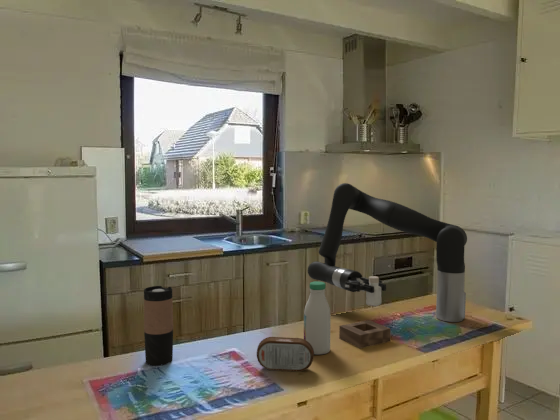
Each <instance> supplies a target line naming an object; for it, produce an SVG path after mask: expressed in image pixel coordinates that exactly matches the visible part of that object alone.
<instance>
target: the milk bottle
mask: <svg viewBox="0 0 560 420" xmlns="http://www.w3.org/2000/svg"><path fill="white" fill-rule="evenodd" d="M326 285H327V284H326V282H323V281H319V280H316V281H312V282H311V281H310V283H309V292H310V293H309V296H308V300H307V301H306V304H305V306H304V313H303V339H304V340H306V341H308V342H309V343H310V344H311V346H312V347H313V350H314V356H315V355H319V356H321V355H326V354H328V353H330V350H331V308H330V305H329V303H328V302H329V301H328V300H327V296H326V287H327V286H326Z"/></svg>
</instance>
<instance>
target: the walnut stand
mask: <svg viewBox="0 0 560 420" xmlns="http://www.w3.org/2000/svg"><path fill="white" fill-rule="evenodd" d="M391 330H392V329H391V328H390V327H387V326H385V325H383V324H381V323H377V322H374V321H373V320H370V319H367V320H362V321H358V322H352V323H351V322H350V323H346V324H342V325H339V331H338V332H339V334H338V335H339V337H338V338H339V339H340V340H342V341H344V342H346V343H348V344H350V345H352V346H354V347H356V348H359V349H363V348H368V347H372V346H376V345H381V344H386V343H389V342H391V332H392V331H391Z"/></svg>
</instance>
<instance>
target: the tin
mask: <svg viewBox="0 0 560 420" xmlns="http://www.w3.org/2000/svg"><path fill="white" fill-rule="evenodd" d="M314 356H315V354H314V350H313V347H312V346H311V344H310V343H309V342H308V341H306V340H304V338H299V337H283V336H268V337H267V336H266V338H265V337H264V338H263V339H262V340H261V341H259V344H258V345H257V349H256V359H257V361H258V363H259V365H260V366H261V367H262V368H263V369H267V370H269V371H278V372H279V371H281V372H303V371H306V370H308V369H309V368H310V367H311V365H312V364H313V361H314V358H315V357H314Z"/></svg>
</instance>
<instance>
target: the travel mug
mask: <svg viewBox="0 0 560 420" xmlns="http://www.w3.org/2000/svg"><path fill="white" fill-rule="evenodd" d="M173 303H174V302H173V288H172V286H168V287H163V286H161V285H154V286H148V287H145V288H144V289H143V323H144V324H143V328H144V330H143V335H144V350H145V351H144V355H145V363H146V365H148V366H155V367H159V366H165V365H167V364H170V363H171V362H173V359H174V358H173V355H174V354H173V353H174V348H173V347H174V314H173V313H174V311H173V308H174V306H173Z"/></svg>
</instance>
